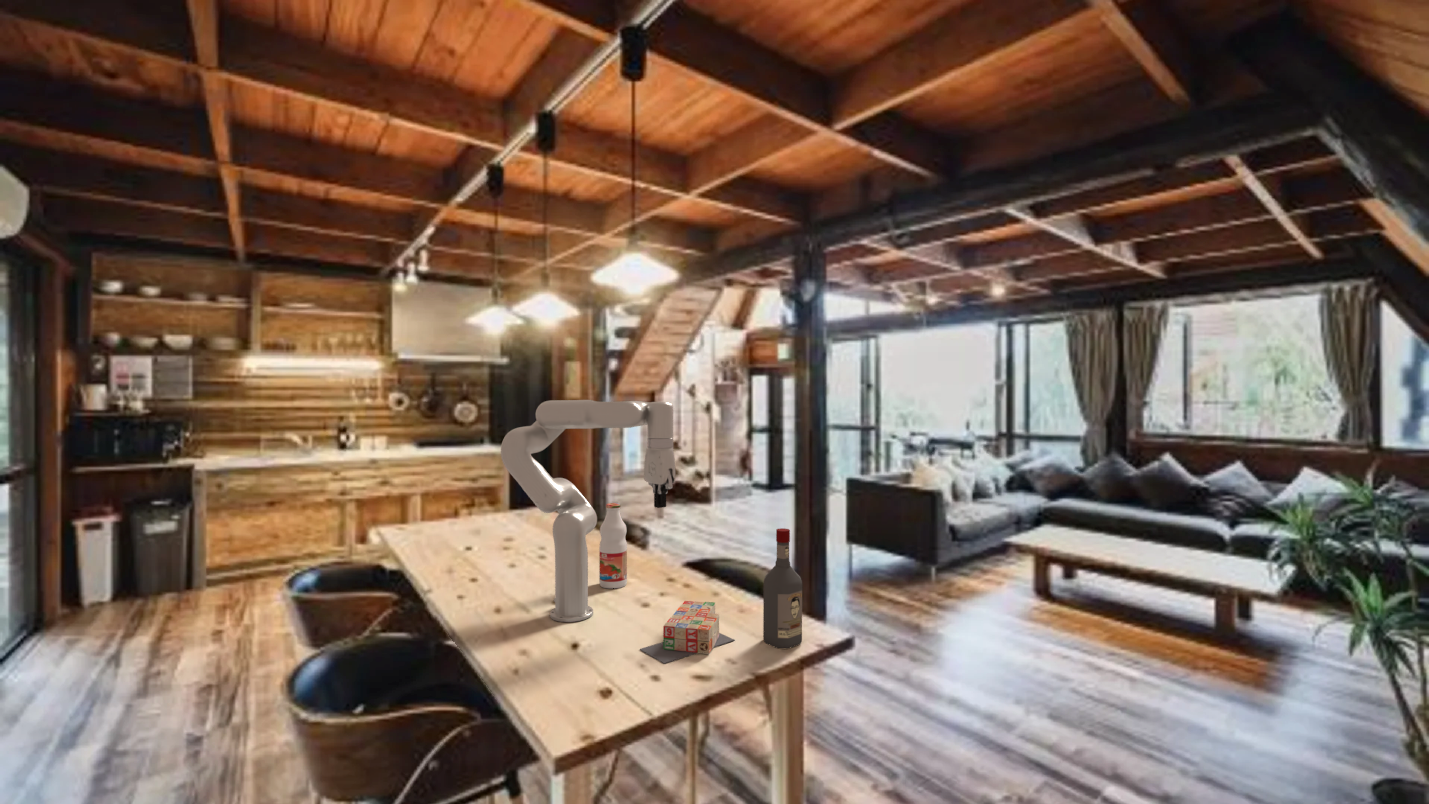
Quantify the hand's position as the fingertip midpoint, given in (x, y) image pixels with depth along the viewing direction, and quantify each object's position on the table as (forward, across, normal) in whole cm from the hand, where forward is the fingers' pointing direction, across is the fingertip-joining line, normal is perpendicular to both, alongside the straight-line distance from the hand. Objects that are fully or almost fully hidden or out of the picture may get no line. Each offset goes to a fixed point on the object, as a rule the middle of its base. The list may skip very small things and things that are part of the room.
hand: (660, 507), depth 186 cm
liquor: (+33, +34, +16) cm, 50 cm away
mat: (+33, +20, -5) cm, 39 cm away
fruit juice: (+33, -38, +7) cm, 51 cm away
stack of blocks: (+30, +12, -4) cm, 32 cm away
